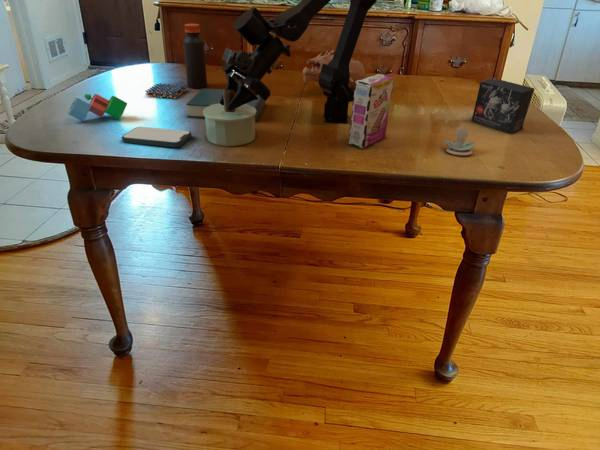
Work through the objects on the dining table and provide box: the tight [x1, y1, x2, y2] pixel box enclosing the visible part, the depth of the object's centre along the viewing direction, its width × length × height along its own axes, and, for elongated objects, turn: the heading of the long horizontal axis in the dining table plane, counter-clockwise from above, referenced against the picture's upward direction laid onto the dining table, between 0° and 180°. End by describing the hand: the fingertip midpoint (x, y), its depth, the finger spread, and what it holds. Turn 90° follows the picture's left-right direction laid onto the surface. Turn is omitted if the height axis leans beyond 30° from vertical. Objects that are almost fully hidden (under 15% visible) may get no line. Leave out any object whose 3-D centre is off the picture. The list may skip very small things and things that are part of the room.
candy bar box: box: [348, 73, 395, 150], centre depth 116 cm, size 11×5×16 cm, turn 141°
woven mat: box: [144, 82, 187, 100], centre depth 151 cm, size 10×11×2 cm
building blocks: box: [67, 93, 128, 122], centre depth 127 cm, size 8×8×12 cm
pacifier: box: [444, 126, 475, 157], centre depth 114 cm, size 7×6×6 cm
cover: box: [203, 89, 256, 122], centre depth 116 cm, size 14×14×6 cm
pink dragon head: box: [302, 49, 366, 88], centre depth 155 cm, size 13×15×25 cm
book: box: [185, 88, 266, 123], centre depth 137 cm, size 20×16×4 cm
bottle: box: [182, 23, 208, 90], centre depth 155 cm, size 7×7×20 cm
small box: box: [471, 77, 535, 134], centre depth 131 cm, size 13×7×12 cm, turn 40°
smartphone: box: [121, 126, 193, 148], centre depth 117 cm, size 9×2×16 cm
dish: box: [204, 116, 256, 147], centre depth 119 cm, size 13×13×6 cm
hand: (224, 107), depth 116 cm, fingers open, 5 cm apart
